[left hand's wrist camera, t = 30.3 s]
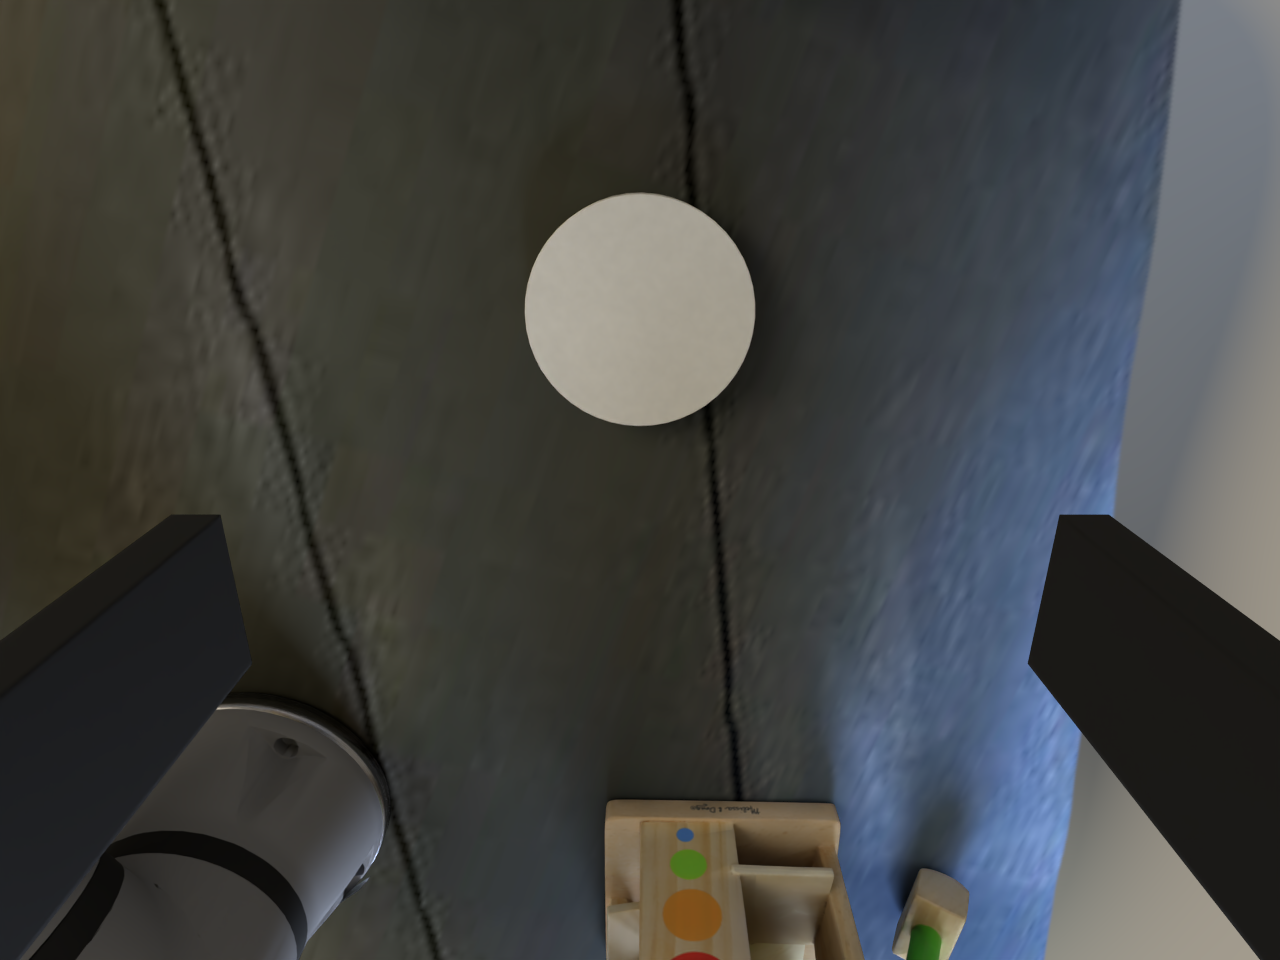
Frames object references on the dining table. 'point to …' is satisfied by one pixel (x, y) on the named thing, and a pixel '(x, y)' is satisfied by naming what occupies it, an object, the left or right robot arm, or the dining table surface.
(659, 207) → the lid
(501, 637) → the dining table surface
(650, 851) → the pounding bench toy
